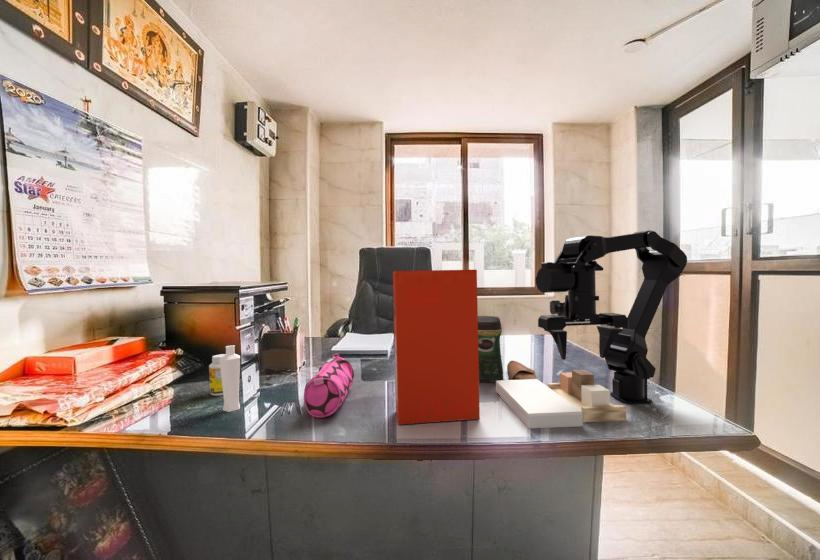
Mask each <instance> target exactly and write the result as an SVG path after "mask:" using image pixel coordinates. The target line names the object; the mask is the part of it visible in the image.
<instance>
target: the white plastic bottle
mask: <svg viewBox="0 0 820 560" xmlns="http://www.w3.org/2000/svg"><path fill="white" fill-rule="evenodd" d="M224 347H225V354H226V355H225V356H223V357H221V358H220V359H219V360H220V369H221V378H222V387H223V395H222V396H223V407H222V411H224V412H228V413H229V412H230V413H231V412H234V411H237V410H240V409H241V404H240V401H239V398H240V397H239V396H240V394H239V393H240V372H241V371H240V370H241V355H239V354H237V353H235V351H236V350H235V349H236V348H235V347H236V345H234V344H232V345H231V344H230V345H226V346H224Z"/></svg>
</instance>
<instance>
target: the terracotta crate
mask: <svg viewBox="0 0 820 560" xmlns="http://www.w3.org/2000/svg"><path fill="white" fill-rule="evenodd" d="M559 383H560V389H561V390H563V391H564V392H566V393H567V394H572V371H570V372H568V371H567V372H559Z"/></svg>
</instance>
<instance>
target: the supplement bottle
mask: <svg viewBox="0 0 820 560" xmlns="http://www.w3.org/2000/svg"><path fill="white" fill-rule="evenodd" d="M225 355H226V353H220V354H216V355H211V356H212V357H211V363H210V364H209V365H208V373H209V377H208V378H209V393H210V395H211V396H215V397H219V396H223V387H222V378H221V369H220V360H219V359H220V358H221V357H223V356H225Z"/></svg>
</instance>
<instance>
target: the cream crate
mask: <svg viewBox="0 0 820 560" xmlns="http://www.w3.org/2000/svg"><path fill="white" fill-rule="evenodd" d="M610 393H611V390H610V389H608V388H606V387H604V386H602V385H601V384H594V385H581V396H582V404H584V405H585V406H609V405H610V402H611V397H610V396H611V395H610Z"/></svg>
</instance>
